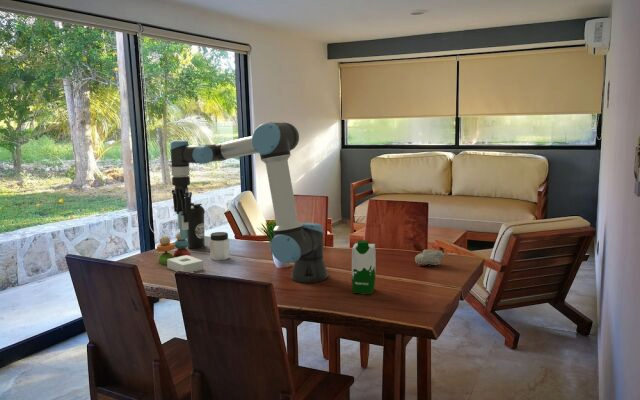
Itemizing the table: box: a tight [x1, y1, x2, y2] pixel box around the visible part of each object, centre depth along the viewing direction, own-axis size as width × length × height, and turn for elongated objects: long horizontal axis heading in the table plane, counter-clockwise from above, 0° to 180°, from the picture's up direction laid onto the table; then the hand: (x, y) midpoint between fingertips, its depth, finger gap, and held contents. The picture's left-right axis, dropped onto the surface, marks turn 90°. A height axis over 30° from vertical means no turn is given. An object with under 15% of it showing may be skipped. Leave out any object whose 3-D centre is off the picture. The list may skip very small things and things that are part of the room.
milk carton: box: [351, 239, 377, 295], centre depth 196 cm, size 9×9×20 cm
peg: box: [179, 211, 187, 240], centre depth 228 cm, size 3×3×12 cm
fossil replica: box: [414, 249, 445, 265], centre depth 231 cm, size 12×8×10 cm
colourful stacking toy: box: [156, 231, 195, 265], centre depth 246 cm, size 18×17×12 cm
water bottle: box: [186, 202, 206, 250], centre depth 269 cm, size 10×10×23 cm
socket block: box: [166, 255, 205, 273], centre depth 231 cm, size 14×10×4 cm
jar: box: [209, 231, 230, 261], centre depth 247 cm, size 9×8×12 cm
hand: (183, 228), depth 228 cm, fingers closed on peg, 3 cm apart
